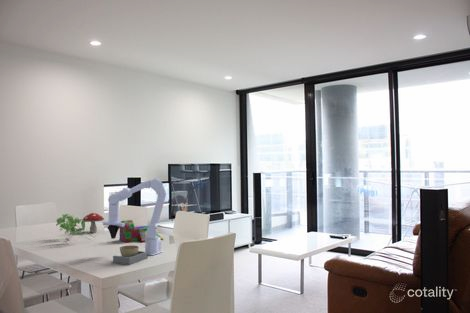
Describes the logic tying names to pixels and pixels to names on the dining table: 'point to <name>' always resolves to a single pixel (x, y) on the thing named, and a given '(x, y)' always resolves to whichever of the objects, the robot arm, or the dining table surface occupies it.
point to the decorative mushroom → (93, 220)
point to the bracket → (130, 258)
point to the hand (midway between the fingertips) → (113, 238)
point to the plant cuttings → (70, 225)
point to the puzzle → (133, 232)
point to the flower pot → (129, 250)
